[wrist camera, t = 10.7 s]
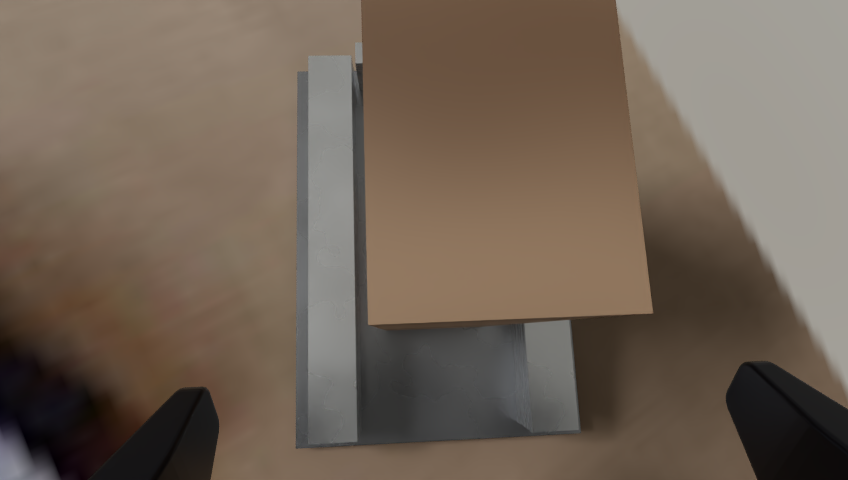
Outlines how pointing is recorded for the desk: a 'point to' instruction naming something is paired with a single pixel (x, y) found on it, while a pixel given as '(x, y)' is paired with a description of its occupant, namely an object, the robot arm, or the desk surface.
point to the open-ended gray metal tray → (396, 349)
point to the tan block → (498, 164)
